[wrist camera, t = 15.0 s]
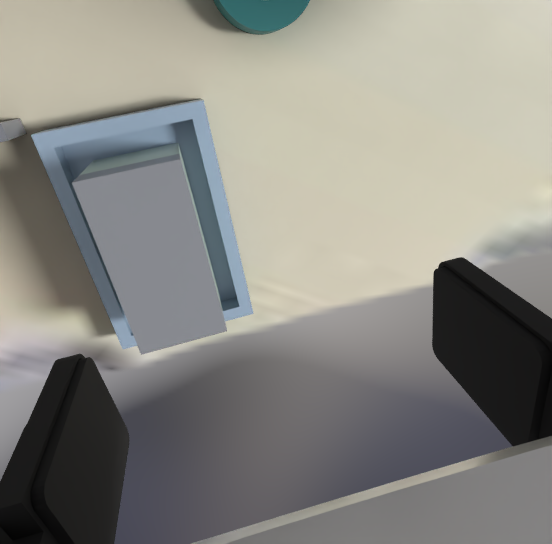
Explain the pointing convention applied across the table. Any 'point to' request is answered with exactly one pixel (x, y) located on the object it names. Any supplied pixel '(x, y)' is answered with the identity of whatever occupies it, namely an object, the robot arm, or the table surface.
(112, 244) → the gray rectangular block
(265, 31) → the bracket
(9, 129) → the bay
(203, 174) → the tray
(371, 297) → the table surface
